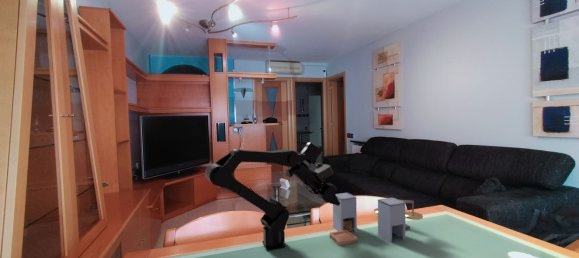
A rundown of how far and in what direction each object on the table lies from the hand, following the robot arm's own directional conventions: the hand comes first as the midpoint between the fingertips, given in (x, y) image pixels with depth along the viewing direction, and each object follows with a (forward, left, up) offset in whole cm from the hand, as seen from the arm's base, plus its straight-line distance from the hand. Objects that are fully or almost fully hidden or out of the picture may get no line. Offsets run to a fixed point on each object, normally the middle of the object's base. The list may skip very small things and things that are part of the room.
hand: (333, 200), depth 103 cm
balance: (+25, -5, -12) cm, 28 cm away
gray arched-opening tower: (+17, -12, -12) cm, 24 cm away
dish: (0, -8, -12) cm, 14 cm away
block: (+5, 0, -12) cm, 13 cm away
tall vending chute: (+5, 0, -12) cm, 13 cm away
